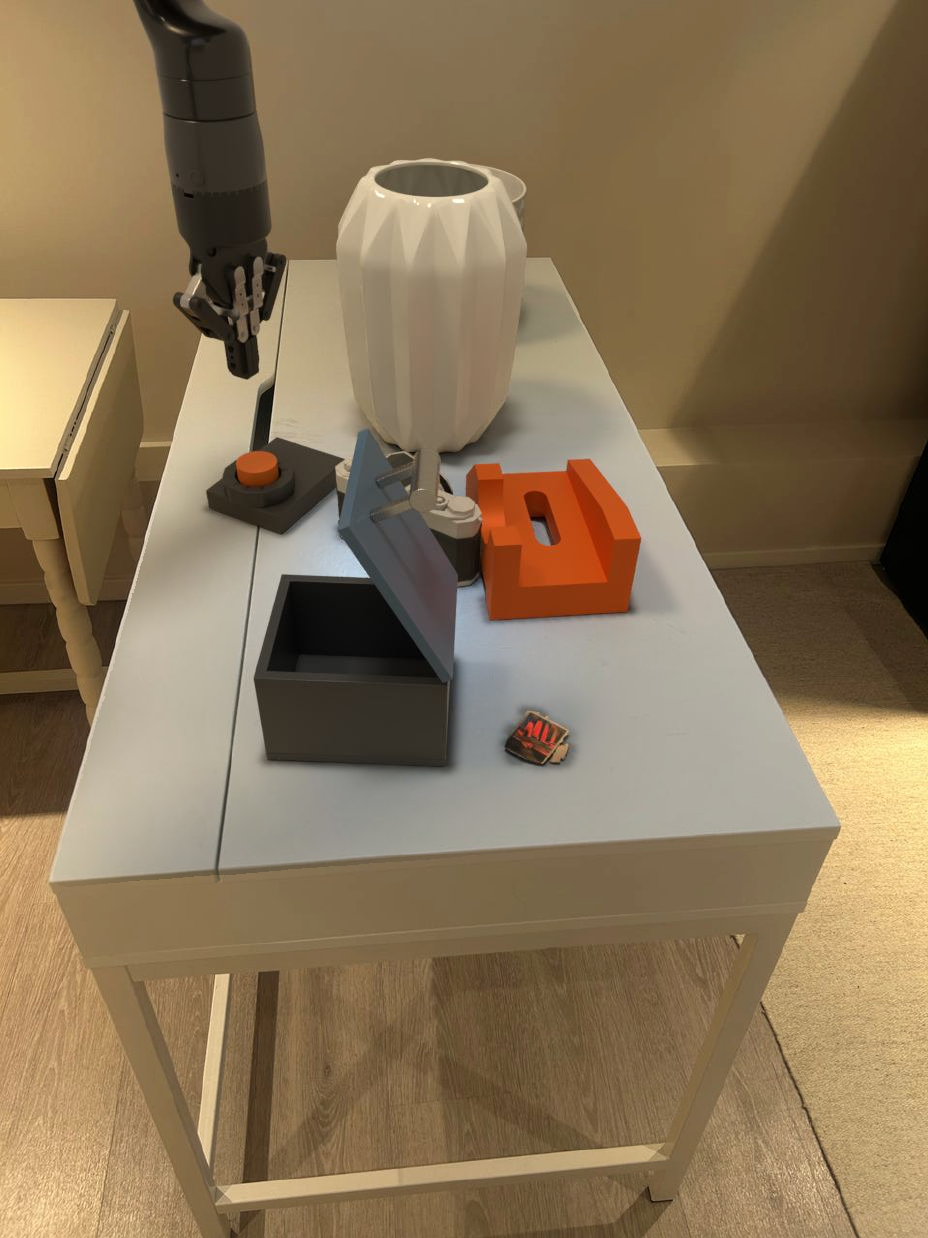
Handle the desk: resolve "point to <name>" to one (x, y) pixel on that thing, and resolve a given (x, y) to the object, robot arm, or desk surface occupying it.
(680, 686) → the desk surface
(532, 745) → the matchbox
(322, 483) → the control block
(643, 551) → the desk surface
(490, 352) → the vase
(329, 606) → the open box
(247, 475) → the button
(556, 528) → the orange slotted stand
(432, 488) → the lid
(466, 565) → the camera
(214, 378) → the desk surface
